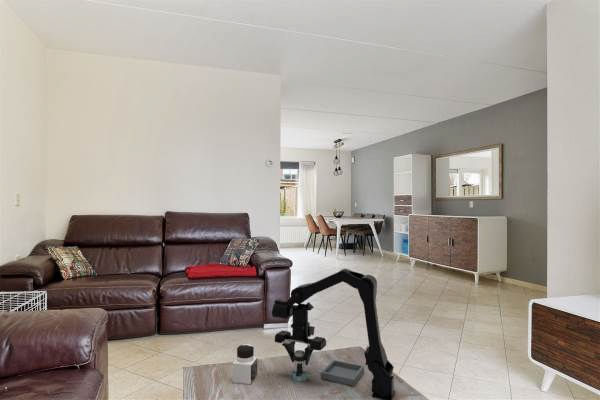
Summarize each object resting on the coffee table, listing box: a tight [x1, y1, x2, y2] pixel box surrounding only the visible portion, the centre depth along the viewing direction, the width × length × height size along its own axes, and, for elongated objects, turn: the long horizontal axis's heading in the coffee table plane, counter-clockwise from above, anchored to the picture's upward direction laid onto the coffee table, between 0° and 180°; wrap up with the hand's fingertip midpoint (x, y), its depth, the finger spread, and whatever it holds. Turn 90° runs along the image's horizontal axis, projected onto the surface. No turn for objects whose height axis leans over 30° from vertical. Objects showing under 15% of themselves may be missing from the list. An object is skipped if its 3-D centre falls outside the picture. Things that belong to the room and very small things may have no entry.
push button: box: [292, 349, 311, 382], centre depth 135 cm, size 7×5×10 cm
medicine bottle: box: [232, 343, 258, 385], centre depth 135 cm, size 7×7×12 cm
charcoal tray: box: [320, 359, 365, 388], centre depth 138 cm, size 13×13×2 cm
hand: (300, 363), depth 135 cm, fingers open, 5 cm apart
